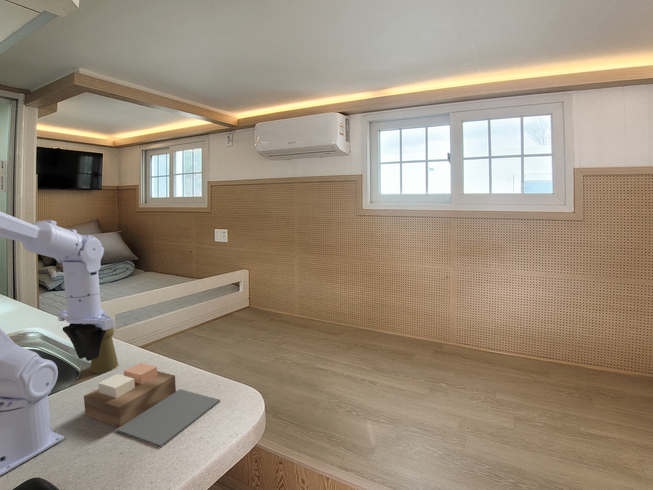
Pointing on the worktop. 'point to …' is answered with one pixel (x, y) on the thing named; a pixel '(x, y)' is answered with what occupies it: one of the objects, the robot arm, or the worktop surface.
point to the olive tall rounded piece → (105, 355)
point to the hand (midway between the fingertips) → (88, 357)
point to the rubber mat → (168, 417)
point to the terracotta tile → (141, 373)
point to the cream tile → (116, 385)
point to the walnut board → (129, 400)
